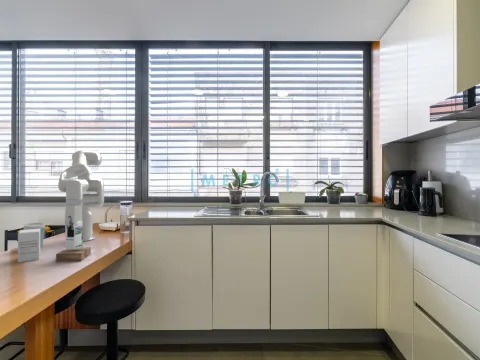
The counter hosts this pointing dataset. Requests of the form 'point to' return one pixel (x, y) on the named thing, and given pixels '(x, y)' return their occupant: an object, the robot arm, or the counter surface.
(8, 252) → the counter surface
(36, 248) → the supplement box
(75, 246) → the syrup box
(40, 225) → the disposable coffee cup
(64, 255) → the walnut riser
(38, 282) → the counter surface
